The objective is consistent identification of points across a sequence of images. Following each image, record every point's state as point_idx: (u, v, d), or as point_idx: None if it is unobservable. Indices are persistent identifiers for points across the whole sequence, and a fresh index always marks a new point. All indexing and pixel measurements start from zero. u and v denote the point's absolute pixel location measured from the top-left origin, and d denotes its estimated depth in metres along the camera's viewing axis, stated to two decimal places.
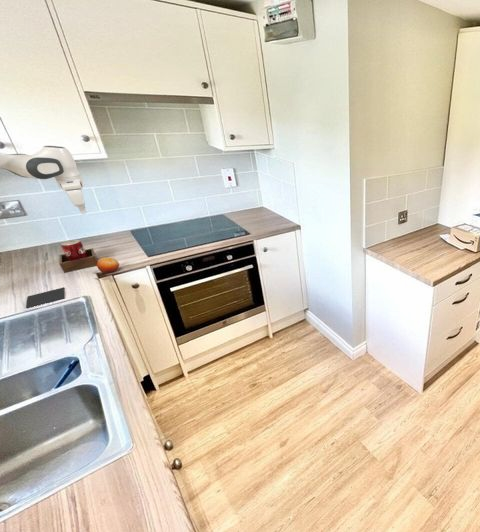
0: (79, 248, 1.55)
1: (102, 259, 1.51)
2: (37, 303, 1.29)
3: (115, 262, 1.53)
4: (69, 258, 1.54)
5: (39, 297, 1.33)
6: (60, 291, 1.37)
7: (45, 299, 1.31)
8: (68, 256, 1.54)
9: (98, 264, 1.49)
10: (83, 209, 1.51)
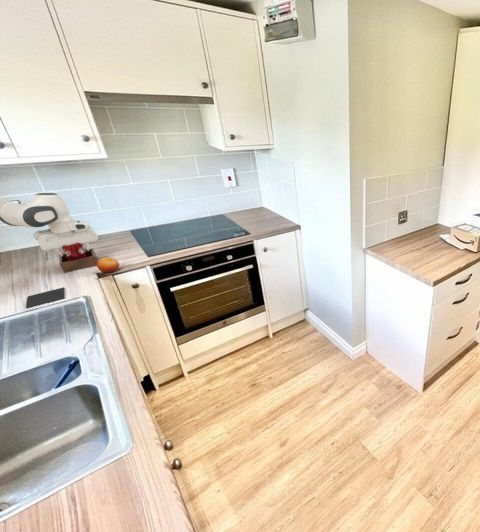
0: (79, 247, 1.55)
1: (102, 259, 1.51)
2: (37, 303, 1.29)
3: (115, 262, 1.53)
4: (69, 258, 1.54)
5: (39, 297, 1.33)
6: (60, 291, 1.37)
7: (45, 299, 1.31)
8: (68, 256, 1.54)
9: (98, 264, 1.49)
10: None
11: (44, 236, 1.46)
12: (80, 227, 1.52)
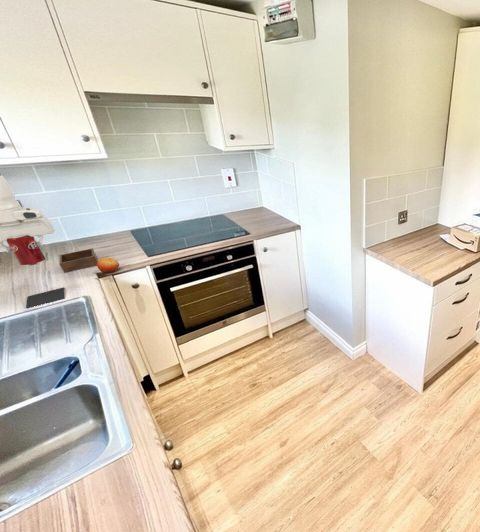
0: (29, 241, 1.25)
1: (102, 259, 1.51)
2: (37, 303, 1.29)
3: (115, 262, 1.53)
4: (16, 254, 1.24)
5: (39, 297, 1.33)
6: (60, 291, 1.37)
7: (45, 299, 1.31)
8: (15, 252, 1.24)
9: (98, 264, 1.49)
10: None
11: None
12: (30, 216, 1.23)
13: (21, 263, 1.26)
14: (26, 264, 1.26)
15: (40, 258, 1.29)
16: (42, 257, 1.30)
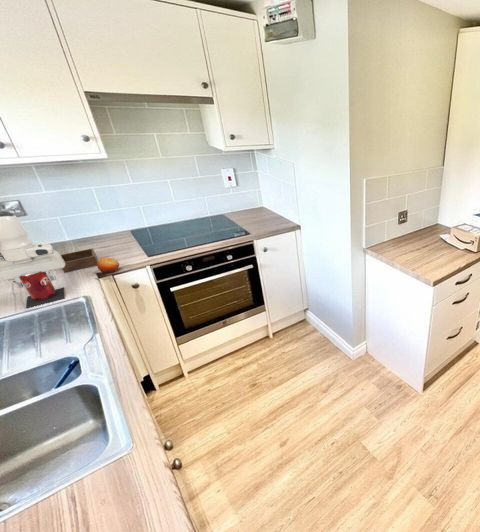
0: (41, 278, 1.28)
1: (102, 259, 1.51)
2: (37, 303, 1.29)
3: (115, 262, 1.53)
4: (29, 291, 1.27)
5: None
6: (60, 291, 1.37)
7: None
8: (28, 288, 1.27)
9: (98, 264, 1.49)
10: (54, 274, 1.33)
11: None
12: (41, 253, 1.25)
13: (34, 298, 1.29)
14: (38, 299, 1.30)
15: (51, 293, 1.32)
16: (54, 292, 1.33)
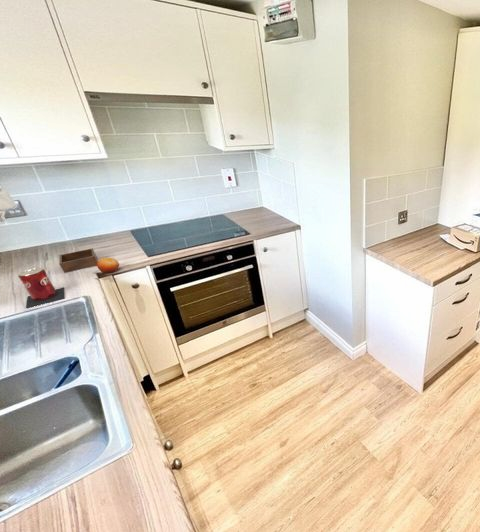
0: (41, 278, 1.28)
1: (102, 259, 1.51)
2: (37, 303, 1.29)
3: (115, 262, 1.53)
4: (29, 291, 1.27)
5: None
6: (60, 291, 1.37)
7: None
8: (28, 288, 1.27)
9: (98, 264, 1.49)
10: None
11: None
12: None
13: (34, 299, 1.29)
14: (38, 299, 1.30)
15: (51, 293, 1.32)
16: (54, 292, 1.33)
